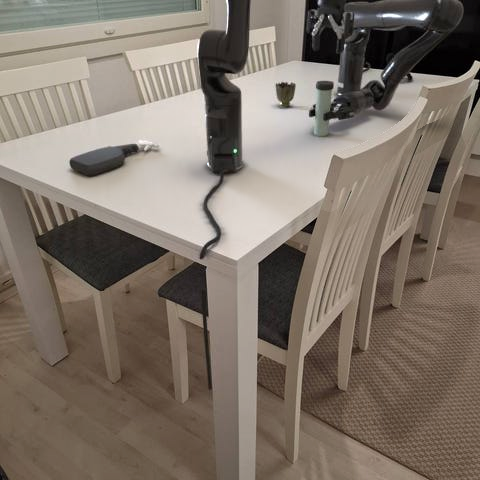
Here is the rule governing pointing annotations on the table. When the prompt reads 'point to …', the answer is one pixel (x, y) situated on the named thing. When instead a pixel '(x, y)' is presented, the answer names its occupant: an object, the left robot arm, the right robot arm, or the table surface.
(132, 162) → the table surface
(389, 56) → the squiggle
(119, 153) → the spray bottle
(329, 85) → the lid
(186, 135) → the table surface
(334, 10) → the left robot arm
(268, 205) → the table surface
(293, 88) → the cup
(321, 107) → the jar
